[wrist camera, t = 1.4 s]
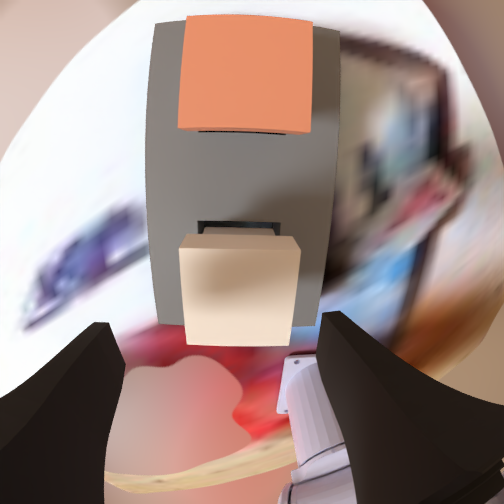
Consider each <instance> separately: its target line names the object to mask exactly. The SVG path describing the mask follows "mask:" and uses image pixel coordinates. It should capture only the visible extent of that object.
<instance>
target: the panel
mask: <svg viewBox="0 0 504 504" xmlns="http://www.w3.org/2000/svg"><path fill="white" fill-rule="evenodd" d="M185 26H186V20H183V21H173V22H164V23H157V24H155V29H154V36H153V43H152V51H151V59H150V69H149V80H148V92H147V109H146V135H145V181H146V209H147V226H148V239H149V251H150V262H151V271H152V280H153V288H154V296H155V303H156V310H157V317H158V323H159V324H172V325H185V322H184V312H183V301H182V289H181V276H180V261H179V247H180V245H181V243H182V241H183V240H184V238H185V236H186V234H203V232H204V221H251V222H273V231H274V233H275V235H276V236H293V238H294V240H295V241H296V243H297V245H298V246H299V248H300V250H301V256H300V265H299V273H298V282H297V290H296V298H295V305H294V313H293V320H292V327H296V326H315V323H316V317H317V312H318V306H319V301H320V295H321V289H322V283H323V277H324V270H325V264H326V257H327V250H328V242H329V235H330V227H331V218H332V209H333V200H334V190H335V179H336V167H337V153H338V137H339V115H340V31H336V30H332V29H327V28H321V27H316V26H313V71H312V108H311V131H310V133H306V134H301V135H296V134H284V133H278V135H275V134H258V133H226V132H205V131H185V130H182V129H179V128H178V108H179V90H180V76H181V64H182V53H183V43H184V34H185Z"/></svg>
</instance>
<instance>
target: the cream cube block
mask: <svg viewBox="0 0 504 504" xmlns="http://www.w3.org/2000/svg"><path fill="white" fill-rule="evenodd" d="M300 256H301V250H300V248H299V246H298V245H297V243H296V241H295V240H294V238H293V236H276V235H275V233H274V231H273V228H238V227H205V229H204V232H203V234H186V236H185V238H184V240H183V241H182V243H181V245H180V247H179V261H180V276H181V289H182V301H183V312H184V322H185V332H186V340H187V344H189V345H212V346H289V341H290V334H291V327H292V320H293V313H294V305H295V298H296V290H297V282H298V273H299V265H300Z"/></svg>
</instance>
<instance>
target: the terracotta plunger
mask: <svg viewBox="0 0 504 504" xmlns="http://www.w3.org/2000/svg"><path fill="white" fill-rule="evenodd" d="M312 71H313V22H310V21H304V20H297V19H290V18H281V17H271V16H257V15H197V16H187V18H186V26H185V34H184V43H183V53H182V64H181V76H180V90H179V108H178V128H179V129H182V130H185V131H251V132H270V133H284V134H296V135H301V134H306V133H310V131H311V108H312Z"/></svg>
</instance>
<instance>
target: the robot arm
mask: <svg viewBox="0 0 504 504" xmlns="http://www.w3.org/2000/svg"><path fill="white" fill-rule="evenodd" d="M296 360H298V361H296ZM125 365H126V364H125V362H124V359H123V357H122V355H121V352H120V350H119V347H118V345H117V343H116V340H115V338H114V335H113V332H112V330H111V327H110V324H109V323H105V322H94V323H92V324H91V325H90V326H89V327H87V328H86V329H85V330H84V331H83V332H81V333H80V334H79V335H78V336H77V337H76V338H75V339H74V340H72V341H71V342H70V343H69V344H68V345H67V346H66V347H65V348H64V349H62V350H61V351H60V352H59V353H58V354H57V355H56V356H55V357H54V358H53V359H51V360H50V361H49V362H48V363H47V364H45V365H44V366H43V367H42V368H41V369H40V370H38V371H37V372H36V373H35V374H34V375H33V376H31V377H30V378H29V379H27V380H26V381H25V382H24V383H22V384H21V385H19V386H18V387H17V388H15V389H14V390H12V391H11V392H9V393H8V394H6V395H5V396H3V397H1V398H0V504H104V467H105V456H106V447H107V441H108V437H109V433H110V429H111V425H112V421H113V418H114V414H115V411H116V407H117V404H118V400H119V397H120V393H121V389H122V384H123V378H124V371H125ZM276 410H277V413H279V414H288V413H289V419H290V424H291V430H292V435H293V441H294V446H295V452H296V457H297V463H298V469H295V470H292V471H291V475H292V482H290V483H288V484H286V485H285V486H284V488H283V490H282V493H281V495H280V496H279V500H278V504H504V472H502V473H501V472H500V470H501V469H502V468H503V467H504V463H503V461H502V458H503V457H504V405H499V404H495V403H491V402H488V401H485V400H481V399H478V398H475V397H472V396H470V395H467V394H464V393H462V392H460V391H457V390H455V389H453V388H451V387H449V386H446V385H444V384H442V383H440V382H438V381H436V380H434V379H433V378H431V377H429V376H427V375H426V374H424V373H422V372H421V371H419V370H417V369H416V368H414V367H412V366H411V365H409V364H408V363H406V362H405V361H403V360H402V359H401V358H399V357H398V356H396V355H395V354H393V353H392V352H391V351H389V350H388V349H387V348H385V347H384V346H383V345H381V344H380V343H379V342H378V341H376V340H375V339H374V338H373V337H371V336H370V335H369V334H368V333H366V332H365V331H364V330H363V329H362V328H360V327H359V326H358V325H357V324H355V323H354V322H353V321H352V320H351V319H349V318H348V317H347V316H346V315H344V314H343V313H342V312H341V311H333V312H324V313H322V319H321V326H320V332H319V338H318V344H317V350H316V354H310V355H291V356H288V357H286V358H285V361H284V367H283V373H282V380H281V386H280V391H279V397H278V403H277V409H276Z"/></svg>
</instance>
